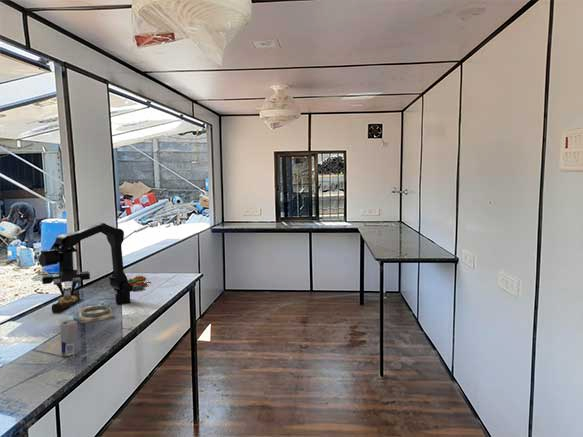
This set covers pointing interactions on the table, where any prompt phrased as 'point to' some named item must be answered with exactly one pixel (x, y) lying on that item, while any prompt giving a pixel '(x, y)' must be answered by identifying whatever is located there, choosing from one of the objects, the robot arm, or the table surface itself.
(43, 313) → the table surface
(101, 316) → the gear board
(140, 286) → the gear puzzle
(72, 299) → the bronze gear
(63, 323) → the energy drink
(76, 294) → the hand tool
